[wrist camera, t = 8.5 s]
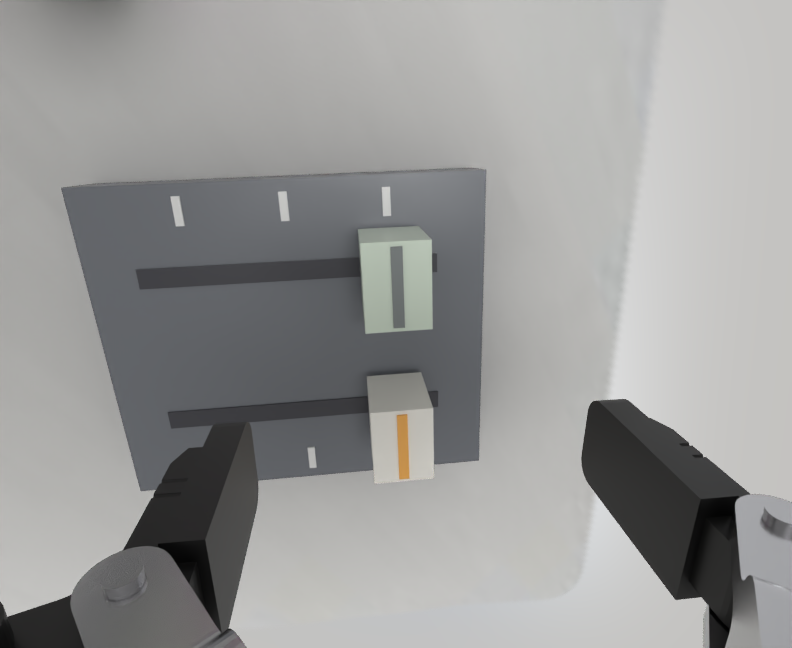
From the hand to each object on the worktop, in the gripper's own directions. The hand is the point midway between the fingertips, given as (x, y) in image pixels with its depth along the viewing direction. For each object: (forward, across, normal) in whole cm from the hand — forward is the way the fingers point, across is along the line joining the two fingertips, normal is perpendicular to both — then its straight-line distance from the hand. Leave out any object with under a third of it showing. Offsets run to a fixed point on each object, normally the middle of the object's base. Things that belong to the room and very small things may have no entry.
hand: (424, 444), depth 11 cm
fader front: (+14, -1, -1) cm, 14 cm away
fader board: (+18, +4, +3) cm, 19 cm away
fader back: (+14, -1, +7) cm, 16 cm away
